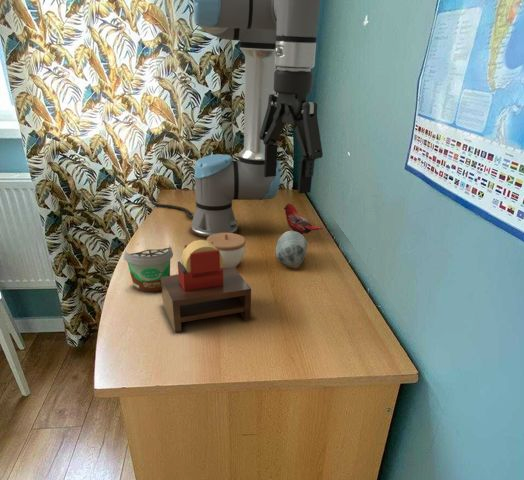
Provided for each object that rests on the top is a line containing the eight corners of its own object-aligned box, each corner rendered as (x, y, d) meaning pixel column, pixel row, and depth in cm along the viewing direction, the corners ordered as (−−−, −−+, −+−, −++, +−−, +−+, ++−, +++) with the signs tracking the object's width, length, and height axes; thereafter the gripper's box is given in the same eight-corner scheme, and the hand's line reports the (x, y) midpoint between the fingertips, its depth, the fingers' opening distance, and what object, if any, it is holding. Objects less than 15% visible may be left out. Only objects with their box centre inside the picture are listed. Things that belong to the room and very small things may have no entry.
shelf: (163, 306, 110) (160, 276, 105) (233, 295, 116) (233, 266, 111) (175, 332, 101) (172, 300, 96) (250, 319, 107) (251, 288, 102)
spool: (311, 263, 126) (298, 228, 123) (279, 275, 129) (266, 241, 126) (314, 255, 139) (303, 224, 136) (285, 266, 141) (273, 236, 139)
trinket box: (251, 262, 133) (251, 231, 128) (233, 276, 125) (234, 244, 119) (218, 254, 136) (218, 224, 131) (200, 268, 128) (198, 236, 123)
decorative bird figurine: (285, 230, 156) (287, 200, 150) (324, 246, 145) (328, 215, 139) (279, 232, 154) (281, 202, 148) (318, 248, 144) (321, 217, 138)
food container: (134, 298, 113) (128, 260, 107) (127, 287, 117) (122, 251, 111) (181, 289, 118) (179, 253, 112) (174, 279, 122) (171, 243, 116)
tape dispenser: (178, 281, 104) (175, 241, 98) (217, 275, 107) (216, 236, 101) (184, 291, 100) (181, 250, 95) (224, 285, 103) (224, 245, 98)
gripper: (245, 64, 93) (243, 171, 106) (316, 75, 76) (304, 202, 88) (276, 64, 97) (271, 168, 109) (351, 75, 79) (335, 198, 92)
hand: (286, 184), depth 99 cm, fingers open, 13 cm apart
